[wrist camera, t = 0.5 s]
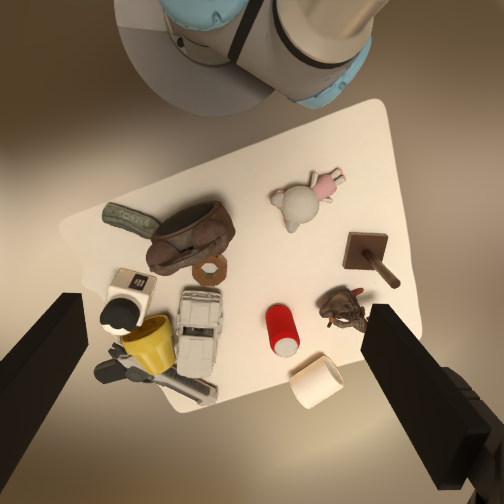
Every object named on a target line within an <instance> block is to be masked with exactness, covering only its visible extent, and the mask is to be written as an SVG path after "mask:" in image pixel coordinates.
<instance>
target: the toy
mask: <svg viewBox="0 0 504 504" xmlns="http://www.w3.org/2000/svg"><path fill="white" fill-rule="evenodd" d="M342 173H343V172H342V170H341V169H340V168H337V169H336V170H335V171H334V172H333V173H332V174H331V175H328V174H326V175H323V176H322V177H320V178H319V179H318V180H317V178H318V173H317V172H314V173H313V174H312V181H311V185H310V188H308V187H306V186H294V187H292V188H290V189H288V190H287V191H286V192H284V191H277V193H276V195H275V196H273V197H272V198H271V200H270V201H271V204H272V205H274V206H276V207H277V208H278V209H280V210H281V211H282V213H283V215H284V217H285V221H286V223H287V226H286V229H287V231H288V232H289V233H294V232H295V231H296V229H297V228H298V226H299V224H303V223H307V222H309V221H310V220H312V219H313V218H314V217H315V216H316V214H317V212H318V210H319V201H323V202H327V203H332V202H333V199H331V198H330V197H328V196H330V195H331V194H333V193H334V192H335V191H336V189H337V187H336V186H338V185H340V184H341V183H343V182H344V181H346V177H345V176H344V175H341V174H342ZM339 175H340V176H339ZM338 176H339V178H338V179H337V180H335V181H334V180H333V179H334V178H336V177H338Z"/></svg>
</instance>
